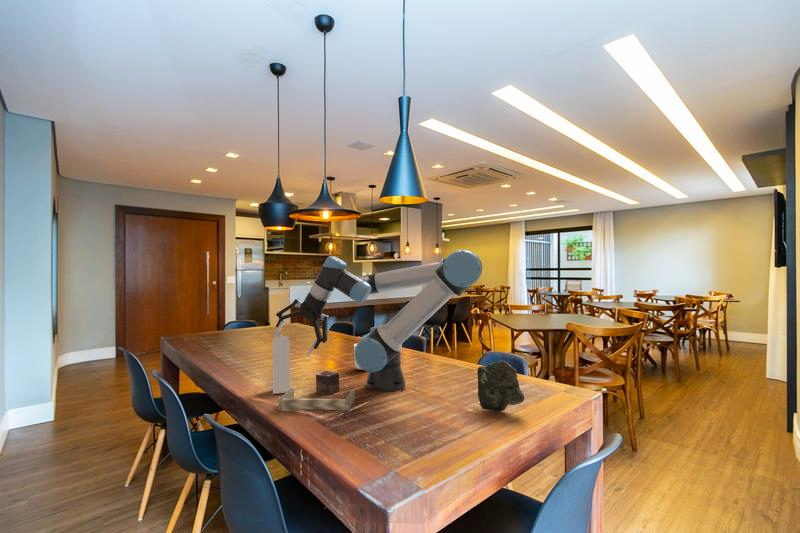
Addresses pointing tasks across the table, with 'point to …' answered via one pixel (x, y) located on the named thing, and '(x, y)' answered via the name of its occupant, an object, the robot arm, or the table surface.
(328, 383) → the box
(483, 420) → the table surface
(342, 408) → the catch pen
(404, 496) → the table surface
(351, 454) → the table surface
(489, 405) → the stone
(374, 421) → the table surface
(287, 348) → the milk
